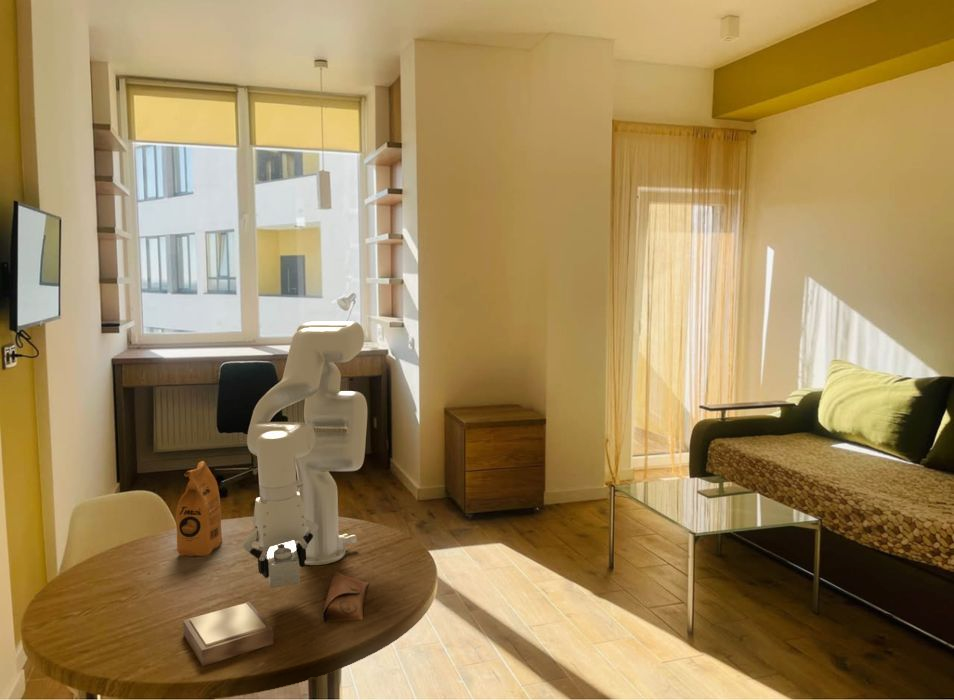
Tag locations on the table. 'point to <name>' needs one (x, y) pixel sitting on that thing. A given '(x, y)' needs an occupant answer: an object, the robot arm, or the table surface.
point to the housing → (283, 565)
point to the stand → (227, 633)
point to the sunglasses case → (344, 599)
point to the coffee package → (199, 514)
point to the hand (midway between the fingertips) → (283, 569)
